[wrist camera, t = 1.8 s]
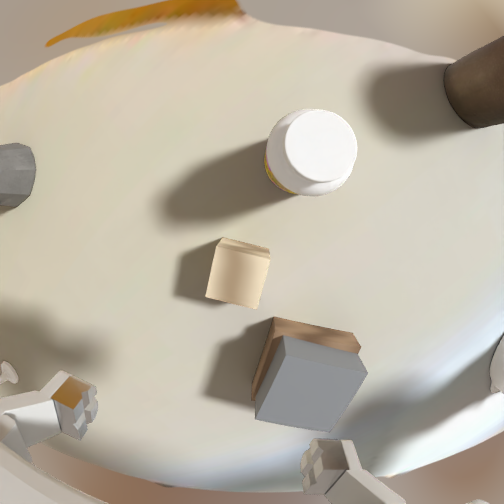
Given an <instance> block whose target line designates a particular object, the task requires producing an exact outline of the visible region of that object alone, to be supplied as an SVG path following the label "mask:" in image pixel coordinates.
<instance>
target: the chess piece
mask: <svg viewBox="0 0 504 504" xmlns="http://www.w3.org/2000/svg"><path fill="white" fill-rule="evenodd" d="M1 370H2V374H1V375H0V384H2V383H3V382H5V381H7V380H8V381H10V382H11V383H14V384H15V383H17V382H18V380H19V378H18V375H17V373H16V371H15V369H14V368H13V367H12V366H11V364H9V363H8V362H6V361H3V362H2V363H1Z"/></svg>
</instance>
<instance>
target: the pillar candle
mask: <svg viewBox="0 0 504 504" xmlns="http://www.w3.org/2000/svg"><path fill="white" fill-rule="evenodd" d="M444 84H445V89H446V93H447V96H448V99H449V101H450V104H451V105H452V107H453V109H454V110H455V112H456V113H457V114H458V116H459V117H460V118H461V119H462V120H463V121H464V122H466V123H467V124H469V125H470V126H472V127H474V128H476V127H480V128H484V127H488V126H492V125H498V124H502V123H504V36H502V37H500V38H499V39H497V40H495V41H493V42H491V43H489V44H487V45H485V46H484V47H481V48H479V49H477V50H475V51H473V52H471V53H470V54H468V55H467V56H464V57H463V58H461V59H459V60H458V61H456V62H455V63H453V64H451V65H450V66H448V67H447V69H446V71H445V75H444Z"/></svg>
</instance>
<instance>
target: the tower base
mask: <svg viewBox="0 0 504 504" xmlns="http://www.w3.org/2000/svg"><path fill="white" fill-rule="evenodd" d="M283 335H285V336H289V337H292V338H296V339H300V340H304V341H307V342H311V343H315V344H319V345H323V346H327V347H331V348H335V349H340V350H344V351H348V352H352V353H357V354H358V353H359V351H360V348H361V346H360V344H359V343H358V341H357V339H356V338H355V336H354V335H353V333H350V332H345V331H340V330H335V329H330V328H325V327H320V326H315V325H310V324H305V323H301V322H296V321H291V320H287V319H282V318H278V317H274V318H273V321H272V324H271V327H270V330H269V333H268V337H267V340H266V343H265V346H264V349H263V352H262V355H261V358H260V361H259V364H258V367H257V370H256V373H255V376H254V379H253V382H252V397H251V400H252V401H255V400H256V395H257V393H258V390H259V388H260V386H261V384H262V382H263V380H264V377H265V375H266V373H267V371H268V369H269V366H270V364H271V362H272V360H273V357H274V355H275V353H276V350H277V348H278V346H279V343H280V341H281V339H282V336H283Z"/></svg>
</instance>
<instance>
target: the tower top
mask: <svg viewBox="0 0 504 504" xmlns="http://www.w3.org/2000/svg"><path fill="white" fill-rule="evenodd" d="M367 374H368V372H367V370H366V368H365V367H364V365H363V363H362V361H361V359H360V358H359V356H358V354H357V353H352V352H348V351H344V350H340V349H335V348H331V347H327V346H323V345H319V344H315V343H311V342H307V341H304V340H300V339H296V338H292V337H289V336H285V335H283V336H282V339H281V341H280V343H279V346H278V348H277V350H276V353H275V355H274V357H273V360H272V362H271V364H270V366H269V369H268V371H267V373H266V375H265V377H264V380H263V382H262V384H261V386H260V388H259V390H258V393H257V395H256V400H255V419H256V420H260V421H265V422H270V423H275V424H280V425H285V426H291V427H297V428H303V429H310V430H317V431H324V432H330V431H331V430H332V428H333V427H334V426H335V424H336V423H337V421H338V420H339V418H340V417H341V415H342V414H343V412H344V411H345V409H346V408H347V406H348V405H349V403H350V402H351V400H352V399H353V397H354V396H355V394H356V392H357V391H358V389H359V388H360V386H361V384H362V383H363V381H364V379H365V378H366V376H367Z"/></svg>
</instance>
